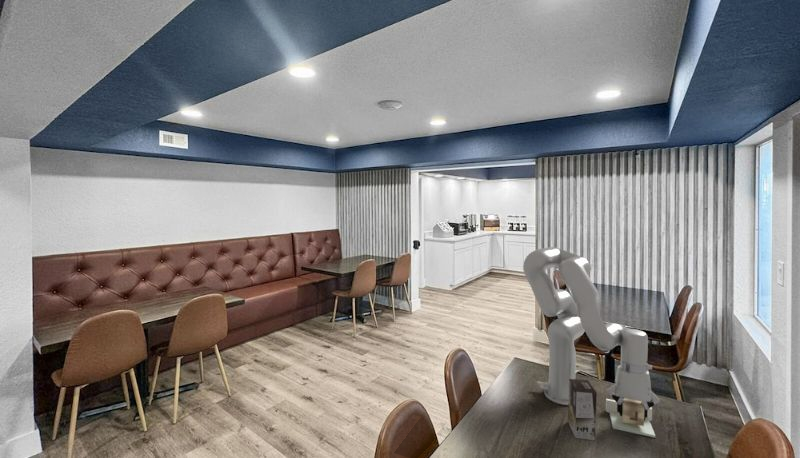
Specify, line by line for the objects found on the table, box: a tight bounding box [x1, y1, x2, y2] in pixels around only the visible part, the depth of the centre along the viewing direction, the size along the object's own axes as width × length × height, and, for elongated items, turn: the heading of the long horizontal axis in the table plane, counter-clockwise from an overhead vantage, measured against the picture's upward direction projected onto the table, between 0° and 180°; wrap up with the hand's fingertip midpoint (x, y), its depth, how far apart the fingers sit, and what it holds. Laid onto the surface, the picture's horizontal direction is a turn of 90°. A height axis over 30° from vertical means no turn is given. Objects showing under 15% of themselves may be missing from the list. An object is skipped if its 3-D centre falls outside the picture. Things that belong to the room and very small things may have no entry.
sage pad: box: [609, 412, 656, 438], centre depth 122 cm, size 12×9×1 cm
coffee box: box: [567, 378, 598, 441], centre depth 119 cm, size 9×6×16 cm
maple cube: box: [621, 398, 644, 426], centre depth 122 cm, size 6×6×6 cm
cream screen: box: [605, 398, 653, 422], centre depth 127 cm, size 14×1×4 cm, turn 66°
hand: (631, 415), depth 122 cm, fingers closed on maple cube, 6 cm apart
